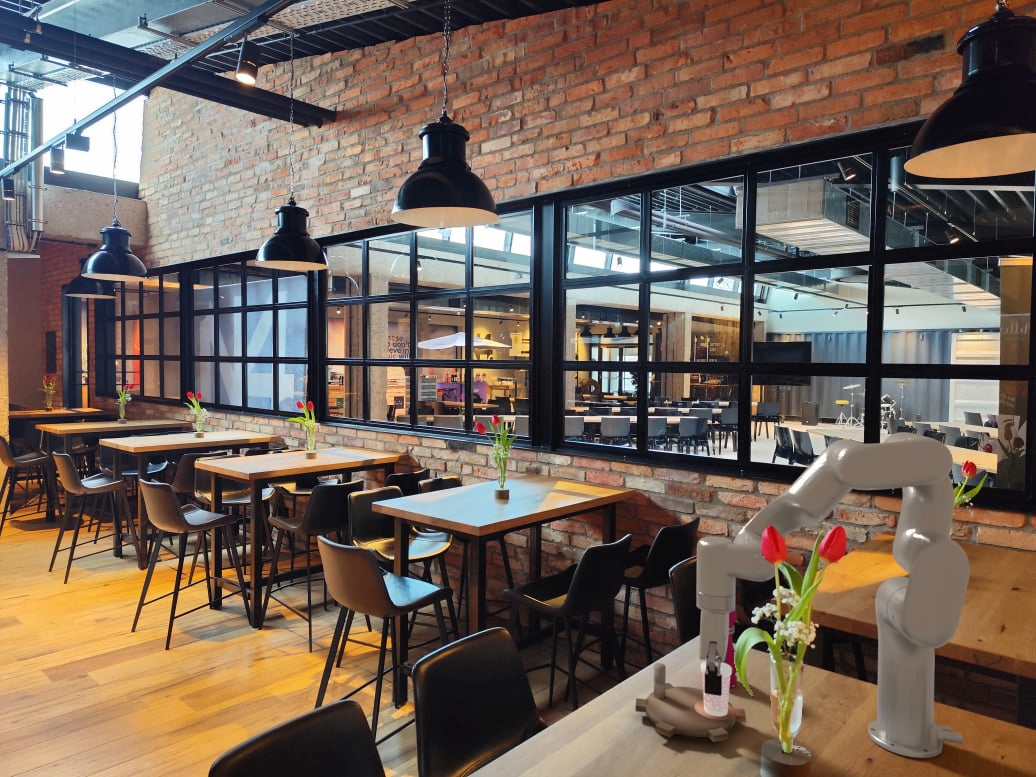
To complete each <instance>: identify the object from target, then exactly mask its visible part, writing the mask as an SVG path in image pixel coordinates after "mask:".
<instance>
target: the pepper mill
mask: <svg viewBox="0 0 1036 777" xmlns="http://www.w3.org/2000/svg"><path fill="white" fill-rule="evenodd" d="M737 615H738V614H737V611H736V609H735V610H734V611H733V612H729V635H728V645H727V651H726V664H728V665H730V666H731V668H732V673H731V675H730V686H729V687H732V686H734V685H736V683H737V684H738V676H737V675H736V674H737V673H738V671H736V668H735V664H734V652H736V650H735V647H734V645H733V634H734V633H735V625H734V623H735V622H736V621H737V620H738V616H737ZM736 686H737V685H736Z"/></svg>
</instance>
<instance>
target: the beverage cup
mask: <svg viewBox="0 0 1036 777" xmlns="http://www.w3.org/2000/svg"><path fill="white" fill-rule="evenodd" d="M716 658H717V657H716ZM715 665H717V667H718V663H716V664H715ZM717 669H718V668H717ZM700 671H701V676H702V677H701V678H702V690H703V698H704V710H705V712H706V713H708V714H710V715H712V716H725V715H726V714H727V713H728V702H729V696H730V688H729V686H730V675H731V673H732V668H731V666H730V665H728V664H726V663H721V672H720V675H722V695H721V696H717V695H711V694H706V693H705V672H706V661H703V662H701V664H700Z"/></svg>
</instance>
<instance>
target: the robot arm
mask: <svg viewBox="0 0 1036 777" xmlns="http://www.w3.org/2000/svg"><path fill="white" fill-rule="evenodd" d="M953 460H954V459H953V455H952V452H951V450H950V449H949V448H948V447H947V446H946V445H945V443H943V442H942V441H939V440H937V439H935V438H932V437H928V436H924V435H921V434H918V433H913V432H906V431H905V432H903V431H902V432H895V433H893V434H890V435H889V436H888V437H886V438H885V440H884V441H883V442H878V443H862V442H858V441H856V440H852V439H837V440H835V441H833V442H831V444H829V445H828V446H827V447H826V448H825V449H824V450H823V451H822V452H821V453H820V454H819V455H818V456H817V457H816V458H815V460H813V462H811V464H810V465H809V466H808V467H807V468H806V469H805V470H804V472H802V473H801V474H800V476H799V477H797V479H796V480H795V481H794V482H793V483H792V485H790V486H789V487H788V488H787V489H786V490H785V491H784V492H783V493H781V494H780V495H779V496H777V497H775V498H774V499H773V500H772V501H770V502H769V503H768V504H766V505H765V506H764V507H763V508H761V509H760V510H759V511H758V512H757V513H756V514H755V515H754V516H753V517H751V519H750V520H749V521H748V522H747V523H746V524H745V525H744V526H743V527H742V529H740V531H738V533H737V534H736V536H735V537H734V539H733V541H732V540H731V539H729V538H728V537H727V538H726V537H722V536H721V537H720V536H705V537H702V538H700V539H699V540H698V542H696V543H697V544H696V608H698V609H699V610H701V611H700V623H699V624H700V628H699V630H700V631H699V654H698V655H699V659H700V660H701V661H703V660H705V662H706V672H705V693H706V694H711V695H717V696H721V695H722V675H720V672H721V663H726V651H727V645H728V635H729V612H733V611H734V610H736V578H737V579H742V580H747V581H753V582H766V581H770V580H771V579H772V578H774V577H775V576H776V575H775V566H774V565H773V564H772V563H770V562H768V561H767V560H766V559H764V557H763V556H762V552H761V538H762V533H763V531H764V530H765V528H766V527H767V526H769V525H771V526H773V527H774V528H775V529H776V530H777V531H778V532H779V533H780V534H781V536H782V537H783V540H785V538H786V537H788V535H790V534H791V533H793V532H794V531H796V530H798V529H801V528H803V527H807V526H811V525H816V524H818V523H820V522H822V521H824V520H825V518H827V517H828V516H829V515H830V513H831V512H832V511H833V510H834V509H835V508H837V506H838V505H839V504H840V502H842V500H843V499H844V498H846V496H847V495H848V494H850V493H851V491H852V490H859V491H860V490H861V491H872V490H873V491H876V490H889V489H890V490H891V489H902V501H901V507H900V512H899V513H900V514H899V518H898V521H897V527H896V531H895V535H894V536H895V537H894V540H893V543H892V556H893V559H894V561H895V563H896V564H897V565H898V566H899V567H901V569H903V570H904V571H905V572H906V573H908V574H909V576H908V577H905V576H893V577H890V578H888V579H886V580H884V581H883V582H882V583H881V584H880V586H879V587H878V589H877V590H876V594H875V600H874V607H875V610H874V611H875V616H876V625H877V639H878V641H877V642H878V644H877V645H878V646H877V647H878V648H877V650H878V651H877V655H878V656H877V702H876V703H877V704H876V706H877V707H876V709H877V711H876V714H877V715H876V717H877V718H876V719H875V720H873V721H871V722H870V723H869V724H868V728H867V732H868V736H869V738H870V739H871V740H872V741H873V742H874V743H875V744H877V745H878V746H880V747H881V748H883V749H885V750H887V751H889V752H892V753H895V754H898V755H901V756H904V757H909V758H916V759H928V758H929V759H930V758H935V757H937V756H939V755H940V754H942V751H943V743H944V742H948V743H949V742H950V743H953V744H958V745H963V743H964V739H963V734H962V732H957V731H953V728H952V726H948V725H947V726H946V725H938V723H936V722H935V720H934V719H935V718H934V713H935V712H934V711H935V710H934V708H935V668H936V667H935V666H936V665H935V664H936V663H935V657H936V655H935V654H936V653H935V649H938V648H941V647H944V646H946V644H948V643H949V642H950V641H951V640H952V639H953V637H954V636H955V634H956V632H957V630H958V628H959V623H960V620H961V616H962V612H963V607H964V603H965V598H966V594H967V589H968V585H969V580H970V573H971V572H970V571H971V570H970V568H971V567H970V562H969V558H968V555H967V553H966V552H965V549H963V548H962V546H961V545H959V543H958V542H957V541H955V540H953V539H952V538H951V536H950V534H951V528H952V523H953V516H954V509H955V489H954V486H953V482H952V479H951V477H950V473H951V471H952V469H953V464H954V463H953V462H954V461H953ZM716 657H717V658H716ZM716 663H718V667H717V665H715V664H716ZM717 668H718V669H717Z"/></svg>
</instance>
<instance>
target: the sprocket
mask: <svg viewBox="0 0 1036 777" xmlns="http://www.w3.org/2000/svg"><path fill="white" fill-rule="evenodd" d="M666 668H667V666H666V664H664V663H661V662H656V663H654V665H653V692H651V693H650V694H648V696H647V697H646V698H638V697H637V698H635V712H641V713H645V714H646V716H647V718H648V719H649V720H650V722H652V723H653V724H654V725H655V726H654V732H656V733H658V734H660V735H664V736H666V737H668V738H671V737H672V736H674V735H675V734H677V735H681V736H682V735H683V736H688V737H695V738H697V737H698V738H700V737H701V738H705V737H707V738H709V739H710V740H711V742H713V743H715V742H721V741H725V740H729V732H728V731H730V730H732V728H733V727H734V726H735V724H736V723H737V722H739V723H747V715H746V711H745V708H737V707H734V706H733V704H731V702H729V701H728V713H727V714H726V715H725V716H712V715H710V714H708V713H706V712H705V710H704V698H703V688H697V687H692V686H673V684H671V683H670V682H666V670H667V669H666Z"/></svg>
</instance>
